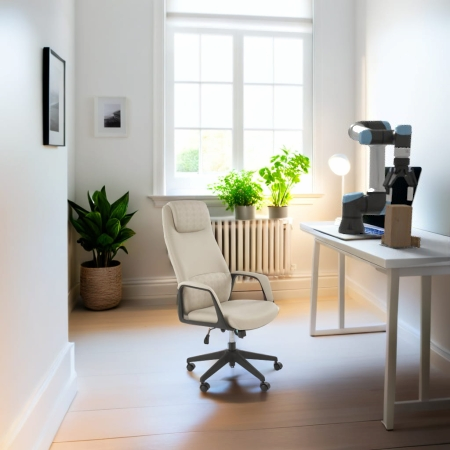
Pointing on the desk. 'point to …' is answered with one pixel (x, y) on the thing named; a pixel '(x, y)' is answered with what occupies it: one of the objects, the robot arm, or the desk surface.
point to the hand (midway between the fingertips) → (399, 200)
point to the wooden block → (398, 225)
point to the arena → (414, 243)
